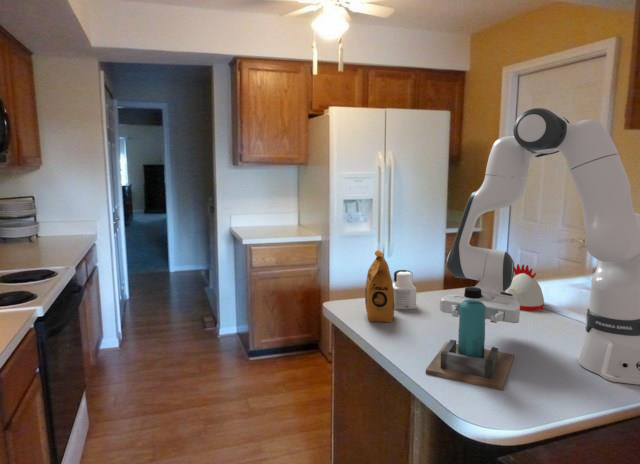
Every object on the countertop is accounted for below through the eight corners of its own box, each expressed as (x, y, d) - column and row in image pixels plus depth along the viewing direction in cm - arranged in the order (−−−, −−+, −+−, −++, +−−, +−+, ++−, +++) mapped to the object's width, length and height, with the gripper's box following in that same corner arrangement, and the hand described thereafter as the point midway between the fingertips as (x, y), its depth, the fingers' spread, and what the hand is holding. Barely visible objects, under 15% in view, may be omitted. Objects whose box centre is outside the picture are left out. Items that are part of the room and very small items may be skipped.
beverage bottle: (485, 371, 114) (489, 292, 111) (457, 369, 115) (460, 291, 112) (482, 360, 120) (485, 285, 117) (455, 358, 121) (458, 284, 118)
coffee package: (363, 322, 152) (364, 256, 148) (365, 310, 164) (365, 249, 160) (394, 323, 150) (395, 257, 147) (393, 311, 162) (394, 249, 159)
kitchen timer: (512, 297, 179) (515, 259, 176) (549, 305, 169) (552, 264, 166) (495, 304, 169) (497, 264, 167) (533, 313, 159) (536, 271, 157)
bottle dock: (513, 358, 124) (514, 340, 123) (502, 390, 106) (503, 369, 106) (445, 345, 132) (446, 328, 132) (425, 373, 115) (426, 354, 114)
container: (389, 303, 172) (390, 269, 170) (409, 302, 173) (410, 268, 171) (395, 309, 164) (395, 274, 162) (416, 308, 165) (417, 273, 163)
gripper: (446, 286, 134) (433, 299, 122) (523, 296, 124) (517, 310, 112) (445, 307, 135) (432, 322, 123) (521, 318, 125) (515, 335, 113)
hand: (473, 316), depth 118 cm, fingers open, 8 cm apart
